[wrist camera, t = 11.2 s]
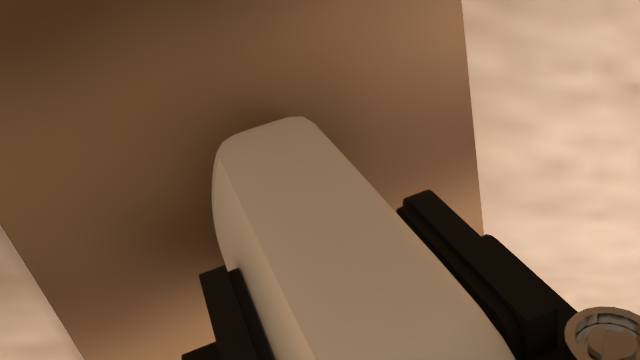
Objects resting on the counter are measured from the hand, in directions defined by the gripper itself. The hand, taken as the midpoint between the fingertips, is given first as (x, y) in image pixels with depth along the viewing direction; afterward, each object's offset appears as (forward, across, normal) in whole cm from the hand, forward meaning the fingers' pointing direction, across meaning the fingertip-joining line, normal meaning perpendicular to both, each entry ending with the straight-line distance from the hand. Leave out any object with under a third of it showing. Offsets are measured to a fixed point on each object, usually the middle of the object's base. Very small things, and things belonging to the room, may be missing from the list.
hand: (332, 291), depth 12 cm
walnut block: (+7, 0, 0) cm, 7 cm away
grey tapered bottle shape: (+3, 0, 0) cm, 3 cm away
